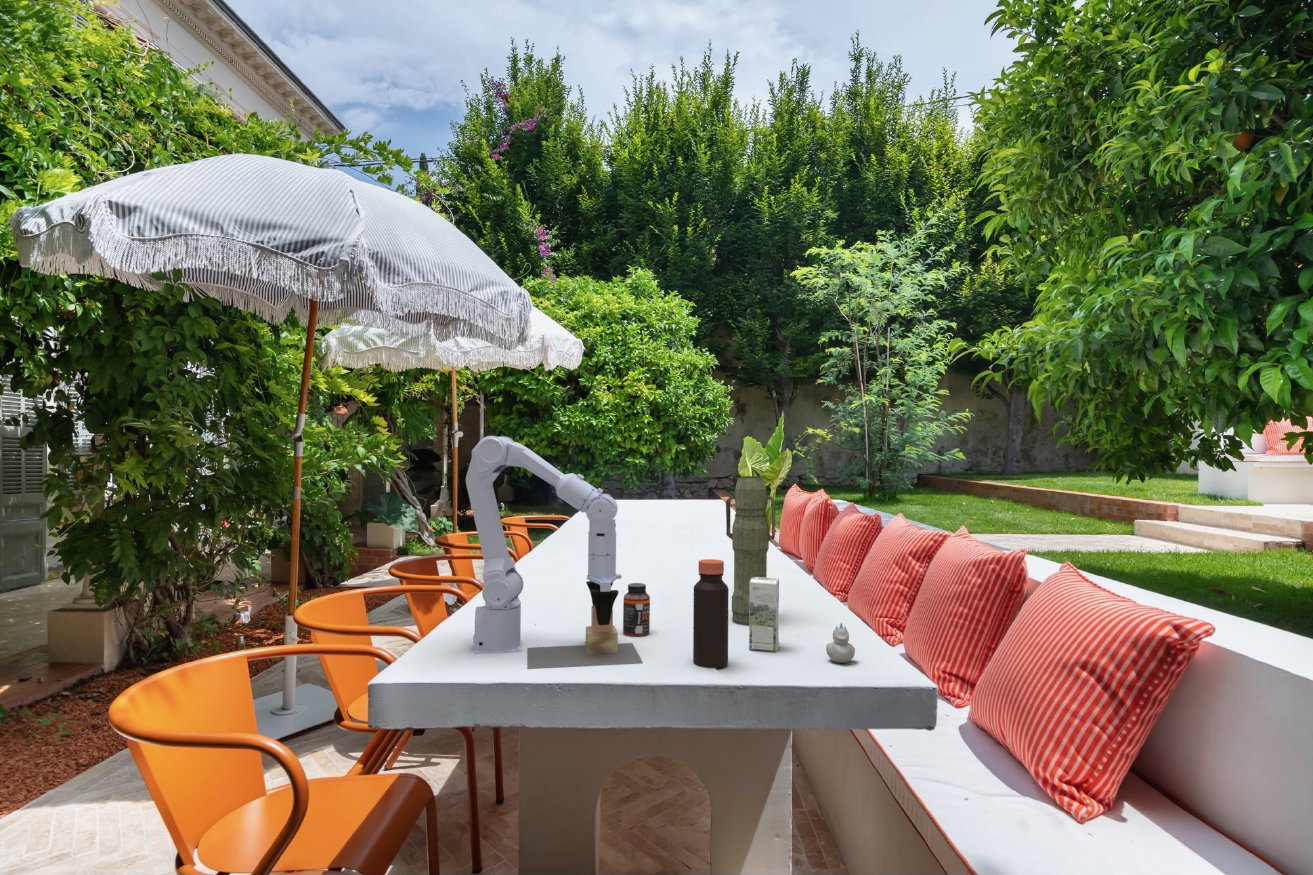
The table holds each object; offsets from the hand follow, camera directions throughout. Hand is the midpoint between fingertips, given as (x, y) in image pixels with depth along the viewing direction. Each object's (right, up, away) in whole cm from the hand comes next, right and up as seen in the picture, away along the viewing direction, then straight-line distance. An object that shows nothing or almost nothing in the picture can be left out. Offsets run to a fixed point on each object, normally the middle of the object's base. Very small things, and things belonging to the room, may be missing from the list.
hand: (601, 619), depth 145 cm
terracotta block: (0, -2, 0) cm, 2 cm away
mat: (-3, -6, -4) cm, 8 cm away
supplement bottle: (+7, -7, +12) cm, 16 cm away
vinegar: (+22, -7, -8) cm, 24 cm away
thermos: (+34, -7, +26) cm, 43 cm away
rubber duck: (+48, -7, -5) cm, 49 cm away
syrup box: (+34, -7, +3) cm, 35 cm away
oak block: (0, -6, 0) cm, 6 cm away
